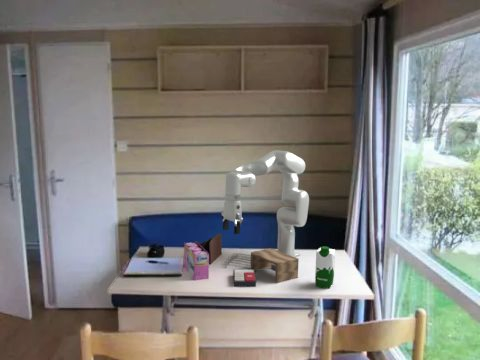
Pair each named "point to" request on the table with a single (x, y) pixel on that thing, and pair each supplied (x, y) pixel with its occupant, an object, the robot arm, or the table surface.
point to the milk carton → (324, 267)
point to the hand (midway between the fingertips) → (231, 231)
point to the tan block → (275, 263)
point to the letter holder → (213, 247)
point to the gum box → (196, 261)
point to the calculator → (244, 278)
